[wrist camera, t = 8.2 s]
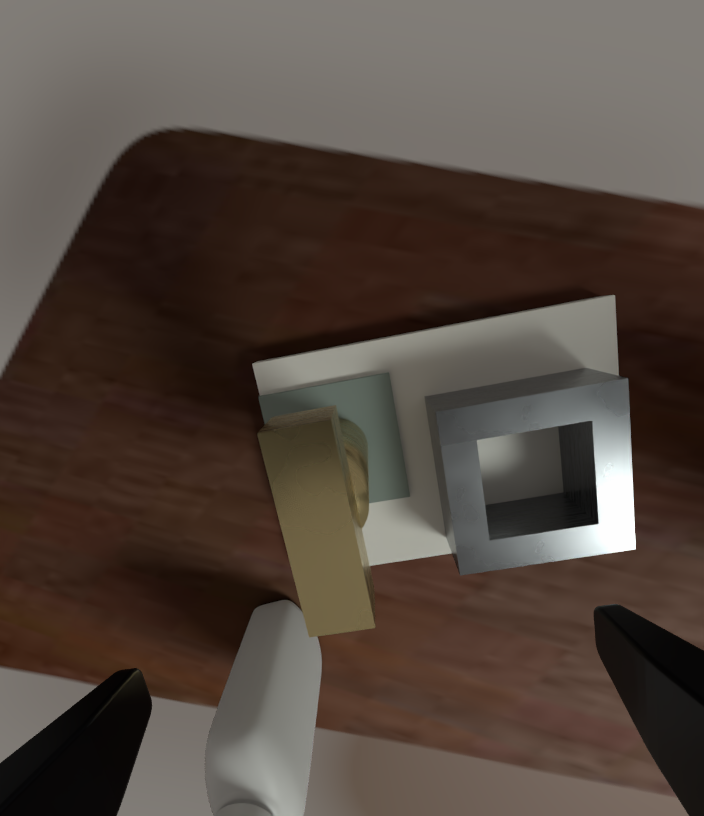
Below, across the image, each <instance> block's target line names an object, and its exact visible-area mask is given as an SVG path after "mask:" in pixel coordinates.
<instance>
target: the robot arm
mask: <svg viewBox="0 0 704 816" xmlns="http://www.w3.org/2000/svg"><path fill="white" fill-rule="evenodd" d="M594 625H595V639H596V647H597V650H598V653H599V656H600V658H601V660H602V662H603V664H604V666H605V668H606V670H607V672H608V674H609V676H610V678H611V679H612V681H613V683H614V685H615V687H616V689H617V691H618V693H619V695H620V697H621V699H622V701H623V703H624V705H625V707H626V709H627V711H628V712H629V714H630V716H631V718H632V720H633V722H634V724H635V726H636V728H637V730H638V732H639V734H640V736H641V738H642V739H643V741H644V743H645V745H646V747H647V749H648V751H649V752H650V754H651V755H652V757H653V759H654V760H655V762H656V764H657V765H658V767H659V769H660V770H661V772H662V774H663V775H664V777H665V778H666V780H667V781H668V783H669V785H670V786H671V788H672V789H673V791H674V793H675V794H676V796H677V797H678V799H679V800H680V802H681V804H682V805H683V807H684V808H685V810H686V812H687V813H688V814H689V816H704V651H703V650H701V649H700V648H698V647H696V646H694V645H692V644H690V643H689V642H687V641H685V640H683V639H681V638H679V637H678V636H676V635H674V634H672V633H670V632H668V631H667V630H665V629H663V628H661V627H659V626H657V625H656V624H654V623H652V622H650V621H648V620H647V619H645V618H643V617H641V616H639V615H637V614H636V613H634V612H632V611H630V610H628V609H626V608H625V607H623V606H621V605H618V604H612V605H604V606H598V607H596V608H595V610H594ZM151 710H152V700H151V697H150V694H149V691H148V688H147V685H146V683H145V680H144V677H143V674H142V672H141V671H140V670H139V669H136V668H133V669H125V670H120V671H117V672H115V673H114V674H113V675H111V676H110V677H109V678H108V679H106V680H105V681H104V682H103V683H101V684H100V685H99V686H97V687H96V688H95V689H94V690H92V691H91V692H90V693H89V694H88V695H86V696H85V697H84V698H82V699H81V700H80V701H79V702H77V703H76V704H75V705H73V706H72V707H71V708H70V709H68V710H67V711H66V712H65V713H63V714H62V715H61V716H59V717H58V718H57V719H56V720H54V721H53V722H52V723H51V724H49V725H48V726H47V727H46V728H44V729H43V730H42V731H40V732H39V733H38V734H37V735H36V736H34V737H33V738H32V739H30V740H29V741H28V742H26V743H25V744H24V745H23V746H21V747H20V748H19V749H18V750H16V751H15V752H14V753H13V754H11V755H10V756H9V757H7V758H6V759H5V760H4V761H2V762H1V763H0V816H117V813H118V811H119V808H120V805H121V802H122V799H123V797H124V794H125V791H126V788H127V785H128V782H129V779H130V776H131V773H132V770H133V767H134V764H135V761H136V758H137V755H138V751H139V748H140V745H141V742H142V739H143V736H144V733H145V730H146V727H147V724H148V721H149V718H150V715H151Z"/></svg>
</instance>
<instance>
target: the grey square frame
mask: <svg viewBox="0 0 704 816" xmlns="http://www.w3.org/2000/svg"><path fill="white" fill-rule="evenodd" d="M425 404H426V410H427V417H428V423H429V430H430V436H431V443H432V449H433V456H434V462H435V469H436V475H437V482H438V488H439V495H440V501H441V508H442V514H443V521H444V527H445V534H446V539H447V541H448V544H449V547H450V549H451V552H452V555H453V558H454V560H455V563H456V566H457V568H458V571H459V574H460V575H466V574H473V573H479V572H486V571H493V570H499V569H506V568H513V567H520V566H526V565H533V564H540V563H546V562H553V561H560V560H567V559H573V558H580V557H587V556H593V555H600V554H607V553H614V552H620V551H627V550H634V549H636V545H635V522H634V498H633V475H632V452H631V429H630V406H629V382H628V378H626V377H622V376H618V375H614V374H610V373H605V372H601V371H597V370H593V369H589V368H581V369H576V370H570V371H565V372H559V373H553V374H548V375H542V376H537V377H531V378H526V379H520V380H514V381H509V382H503V383H498V384H492V385H486V386H481V387H475V388H470V389H464V390H458V391H453V392H447V393H442V394H436V395H431V396H425ZM557 426H558V430H559V442H560V455H561V467H562V479H563V491H564V493H557V494H551V495H545V496H539V497H532V498H526V499H520V500H513V501H507V502H501V503H495V504H488V505H485V501H484V493H483V485H482V478H481V470H480V462H479V454H478V447H477V440H480V439H486V438H492V437H498V436H504V435H510V434H516V433H521V432H527V431H533V430H539V429H545V428H551V427H557Z"/></svg>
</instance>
